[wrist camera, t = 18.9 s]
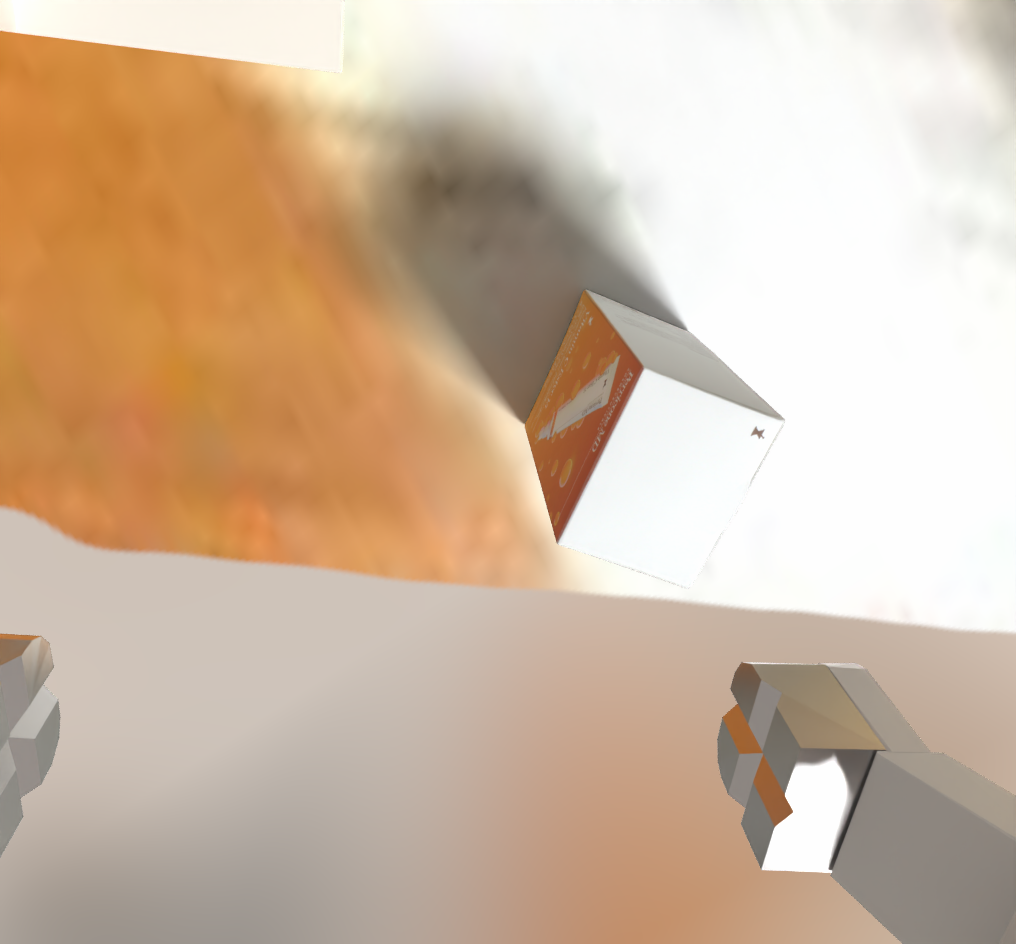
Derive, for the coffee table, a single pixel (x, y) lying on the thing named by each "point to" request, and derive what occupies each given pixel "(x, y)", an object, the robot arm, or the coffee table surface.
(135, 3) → the slotted holder
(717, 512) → the small box
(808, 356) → the coffee table surface
